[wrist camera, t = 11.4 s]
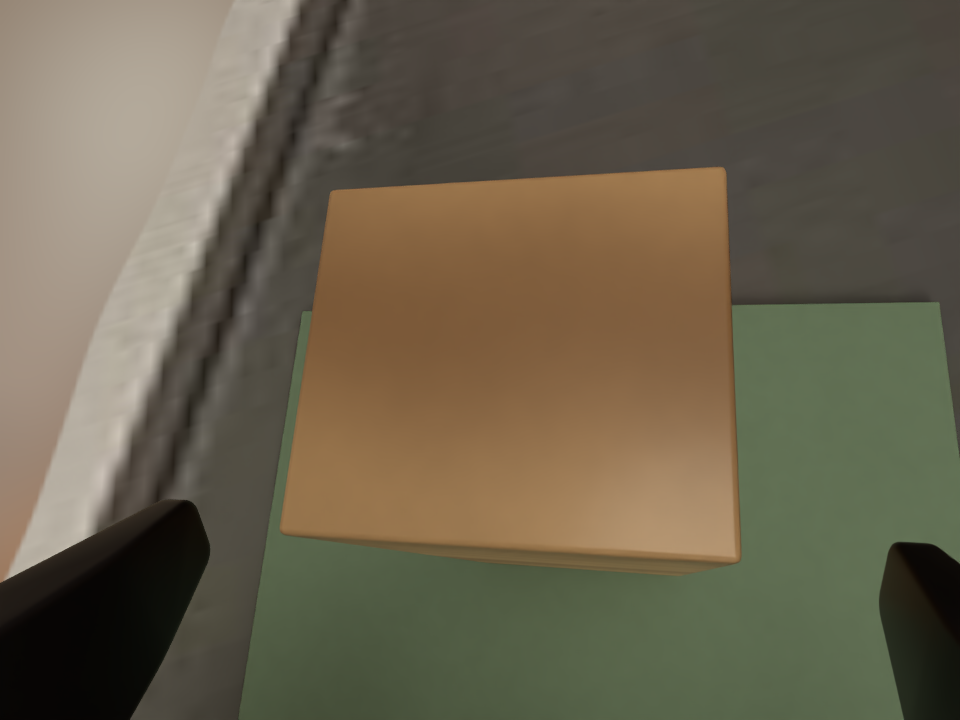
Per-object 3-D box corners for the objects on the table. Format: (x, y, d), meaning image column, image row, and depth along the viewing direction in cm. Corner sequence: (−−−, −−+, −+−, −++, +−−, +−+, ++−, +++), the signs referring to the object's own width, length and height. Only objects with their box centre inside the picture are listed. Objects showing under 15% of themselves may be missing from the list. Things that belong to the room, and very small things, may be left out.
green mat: (1015, 920, 16) (1021, 925, 15) (231, 790, 20) (226, 793, 20) (935, 305, 20) (939, 301, 20) (306, 313, 25) (302, 310, 24)
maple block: (682, 576, 19) (742, 564, 7) (484, 562, 20) (276, 534, 9) (679, 400, 21) (726, 163, 9) (495, 398, 22) (328, 188, 10)
